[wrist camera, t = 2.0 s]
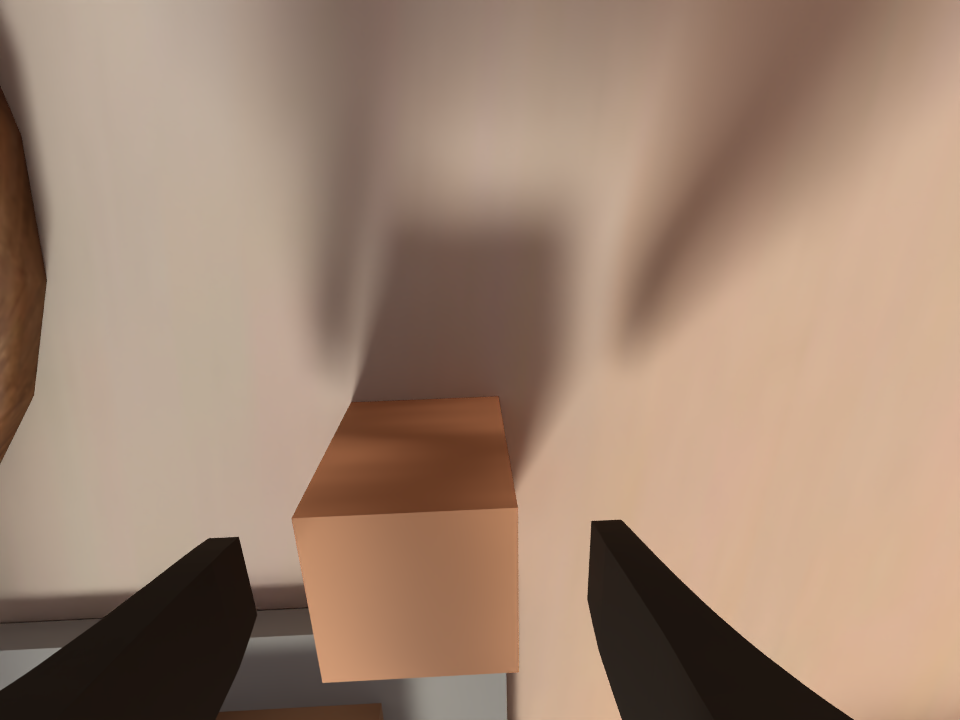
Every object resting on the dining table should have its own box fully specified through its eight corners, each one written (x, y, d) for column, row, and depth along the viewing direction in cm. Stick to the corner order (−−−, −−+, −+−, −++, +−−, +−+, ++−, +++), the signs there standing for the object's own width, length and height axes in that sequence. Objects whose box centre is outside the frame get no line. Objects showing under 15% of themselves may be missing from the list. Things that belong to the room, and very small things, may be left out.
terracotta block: (367, 524, 15) (322, 683, 10) (351, 401, 13) (291, 518, 9) (500, 517, 15) (519, 672, 10) (498, 395, 14) (517, 508, 9)
